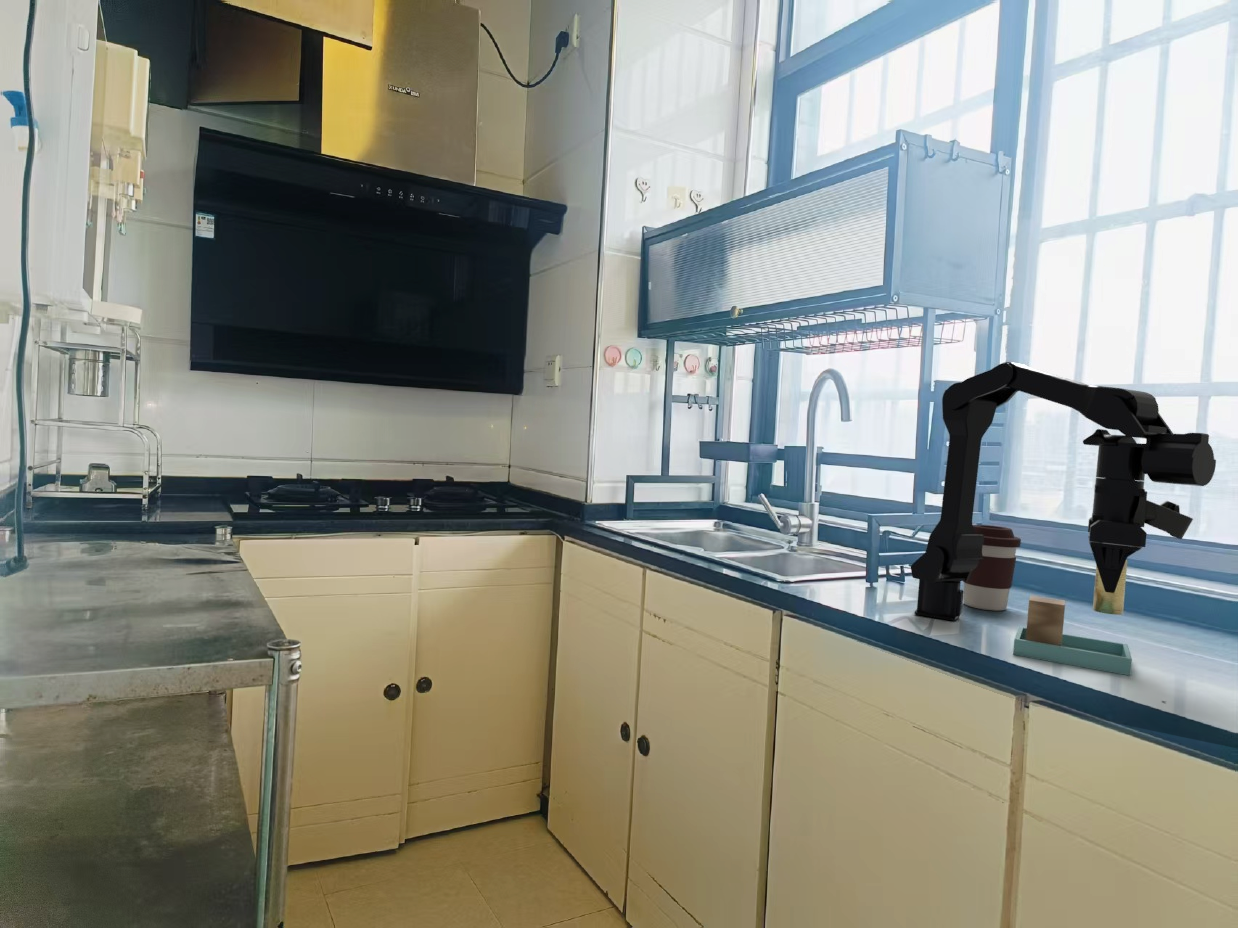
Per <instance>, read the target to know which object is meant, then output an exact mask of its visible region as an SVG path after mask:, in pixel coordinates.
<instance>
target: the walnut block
mask: <svg viewBox="0 0 1238 928" xmlns="http://www.w3.org/2000/svg"><path fill="white" fill-rule="evenodd" d="M1027 610H1028V611H1027V618H1026V628H1027V630H1026V640H1028V641H1034V642H1039V643H1045V644H1051V645H1057V646H1061V645H1062V634H1064V633H1063V631H1064V622H1065V621H1064V620H1065V610H1066V600H1064V599H1056V598H1051V597H1043V596H1037V595H1030V597H1029V599H1028V609H1027Z"/></svg>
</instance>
